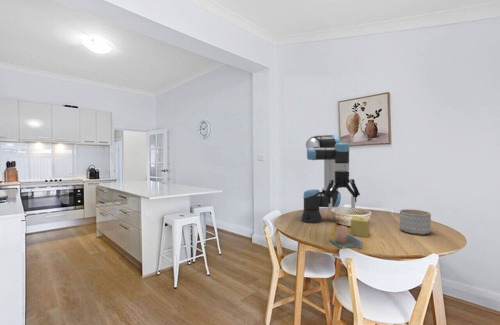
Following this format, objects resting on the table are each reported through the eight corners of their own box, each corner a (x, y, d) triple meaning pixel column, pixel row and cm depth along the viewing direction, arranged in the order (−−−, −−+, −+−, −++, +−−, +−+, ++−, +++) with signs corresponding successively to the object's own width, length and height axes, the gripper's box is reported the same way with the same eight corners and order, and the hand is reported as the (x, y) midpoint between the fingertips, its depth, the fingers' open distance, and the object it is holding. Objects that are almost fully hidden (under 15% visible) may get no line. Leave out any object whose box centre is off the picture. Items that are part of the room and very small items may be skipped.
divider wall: (344, 238, 145) (344, 231, 145) (345, 238, 145) (345, 231, 145) (360, 248, 129) (360, 241, 129) (362, 248, 129) (362, 241, 129)
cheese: (369, 233, 155) (369, 217, 154) (368, 238, 145) (368, 221, 145) (352, 230, 160) (352, 215, 160) (349, 235, 151) (349, 219, 151)
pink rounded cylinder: (334, 241, 139) (334, 225, 138) (343, 240, 140) (343, 225, 139) (339, 245, 133) (339, 228, 132) (349, 244, 134) (349, 228, 133)
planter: (436, 236, 147) (436, 215, 146) (406, 235, 150) (406, 214, 150) (422, 228, 163) (422, 209, 162) (395, 227, 166) (395, 208, 166)
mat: (329, 240, 141) (329, 239, 141) (343, 239, 143) (343, 238, 143) (340, 248, 129) (340, 247, 129) (355, 247, 131) (355, 246, 131)
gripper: (323, 171, 129) (323, 211, 130) (366, 170, 133) (366, 209, 134) (317, 170, 137) (317, 208, 137) (358, 169, 140) (358, 206, 141)
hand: (341, 208), depth 136 cm, fingers open, 13 cm apart
